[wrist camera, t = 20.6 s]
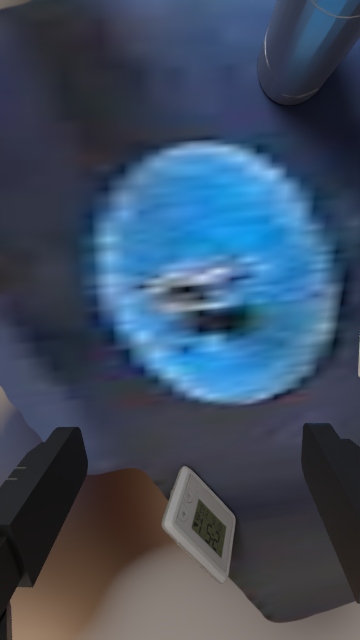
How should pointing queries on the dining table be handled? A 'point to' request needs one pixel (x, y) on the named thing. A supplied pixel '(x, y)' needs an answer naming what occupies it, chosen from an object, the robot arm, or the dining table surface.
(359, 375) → the white column stand
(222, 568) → the digital clock
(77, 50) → the dining table surface
